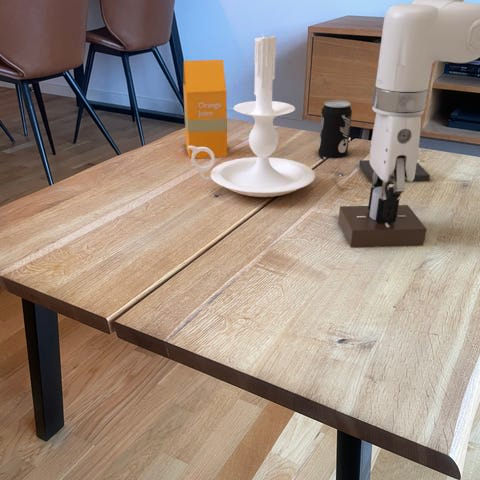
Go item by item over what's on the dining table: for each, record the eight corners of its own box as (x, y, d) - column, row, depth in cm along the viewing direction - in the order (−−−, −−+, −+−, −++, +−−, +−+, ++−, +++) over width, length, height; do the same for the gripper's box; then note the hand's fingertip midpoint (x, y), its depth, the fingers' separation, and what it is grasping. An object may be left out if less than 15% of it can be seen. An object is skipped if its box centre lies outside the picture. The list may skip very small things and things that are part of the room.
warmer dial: (366, 212, 94) (370, 184, 91) (390, 211, 94) (394, 184, 91) (372, 221, 90) (376, 193, 88) (396, 221, 91) (401, 193, 88)
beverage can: (330, 163, 124) (336, 108, 117) (312, 156, 129) (316, 102, 122) (352, 158, 127) (359, 104, 120) (333, 151, 132) (338, 98, 125)
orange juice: (186, 148, 133) (181, 57, 122) (222, 146, 134) (221, 56, 123) (189, 159, 127) (185, 64, 116) (227, 156, 128) (226, 62, 117)
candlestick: (192, 172, 119) (185, 26, 104) (306, 171, 120) (317, 25, 104) (187, 209, 102) (178, 41, 87) (320, 208, 103) (335, 40, 87)
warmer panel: (404, 220, 98) (407, 203, 97) (423, 245, 90) (427, 227, 88) (338, 222, 98) (339, 205, 96) (350, 247, 89) (352, 229, 88)
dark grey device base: (412, 169, 121) (415, 151, 119) (427, 185, 113) (431, 166, 111) (358, 170, 121) (360, 152, 118) (369, 186, 112) (372, 167, 110)
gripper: (444, 114, 75) (419, 237, 85) (407, 88, 89) (389, 196, 99) (390, 114, 75) (371, 238, 85) (360, 88, 89) (348, 197, 99)
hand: (381, 214), depth 92 cm, fingers closed on warmer dial, 4 cm apart
